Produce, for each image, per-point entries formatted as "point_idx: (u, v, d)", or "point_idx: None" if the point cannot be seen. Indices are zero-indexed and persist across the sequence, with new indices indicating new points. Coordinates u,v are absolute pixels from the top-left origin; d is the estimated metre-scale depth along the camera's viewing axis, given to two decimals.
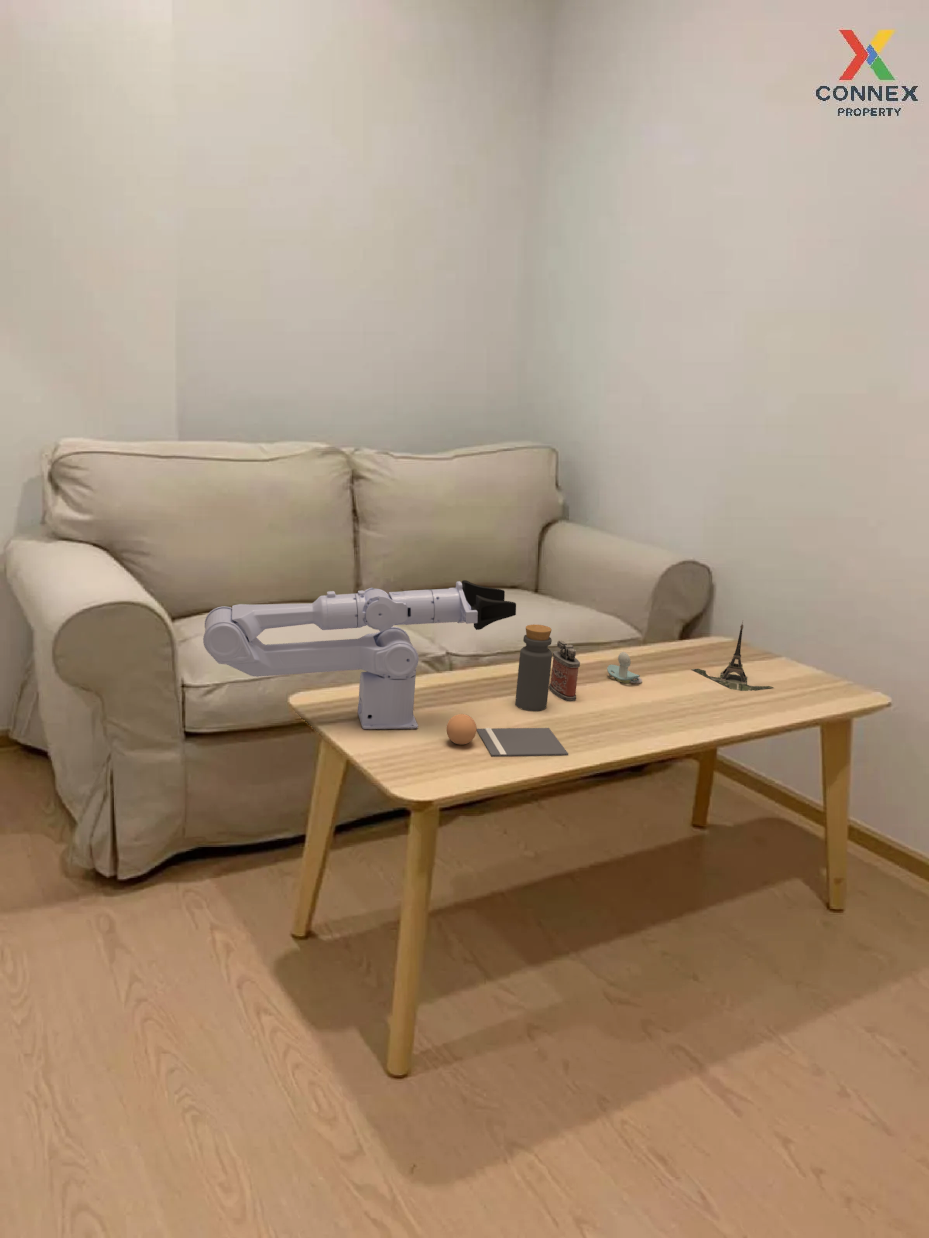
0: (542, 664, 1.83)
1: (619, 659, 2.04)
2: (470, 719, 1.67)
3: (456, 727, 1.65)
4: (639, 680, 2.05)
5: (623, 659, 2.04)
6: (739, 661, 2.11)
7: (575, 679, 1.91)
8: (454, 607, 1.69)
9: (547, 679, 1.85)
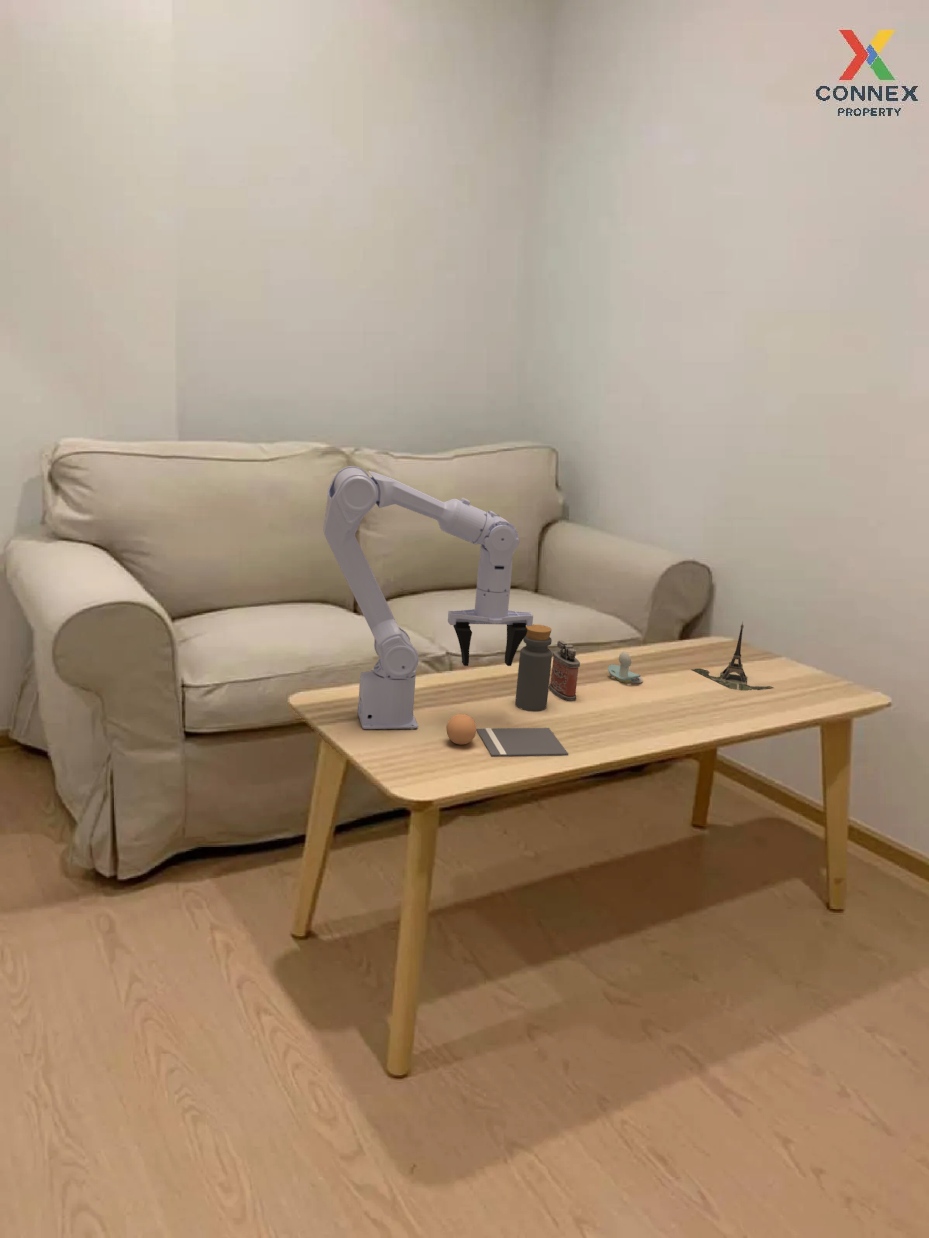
0: (542, 664, 1.83)
1: (620, 659, 2.04)
2: (470, 719, 1.67)
3: (456, 727, 1.65)
4: (640, 680, 2.05)
5: (624, 659, 2.04)
6: (739, 661, 2.11)
7: (575, 679, 1.91)
8: (476, 608, 1.72)
9: (547, 679, 1.85)
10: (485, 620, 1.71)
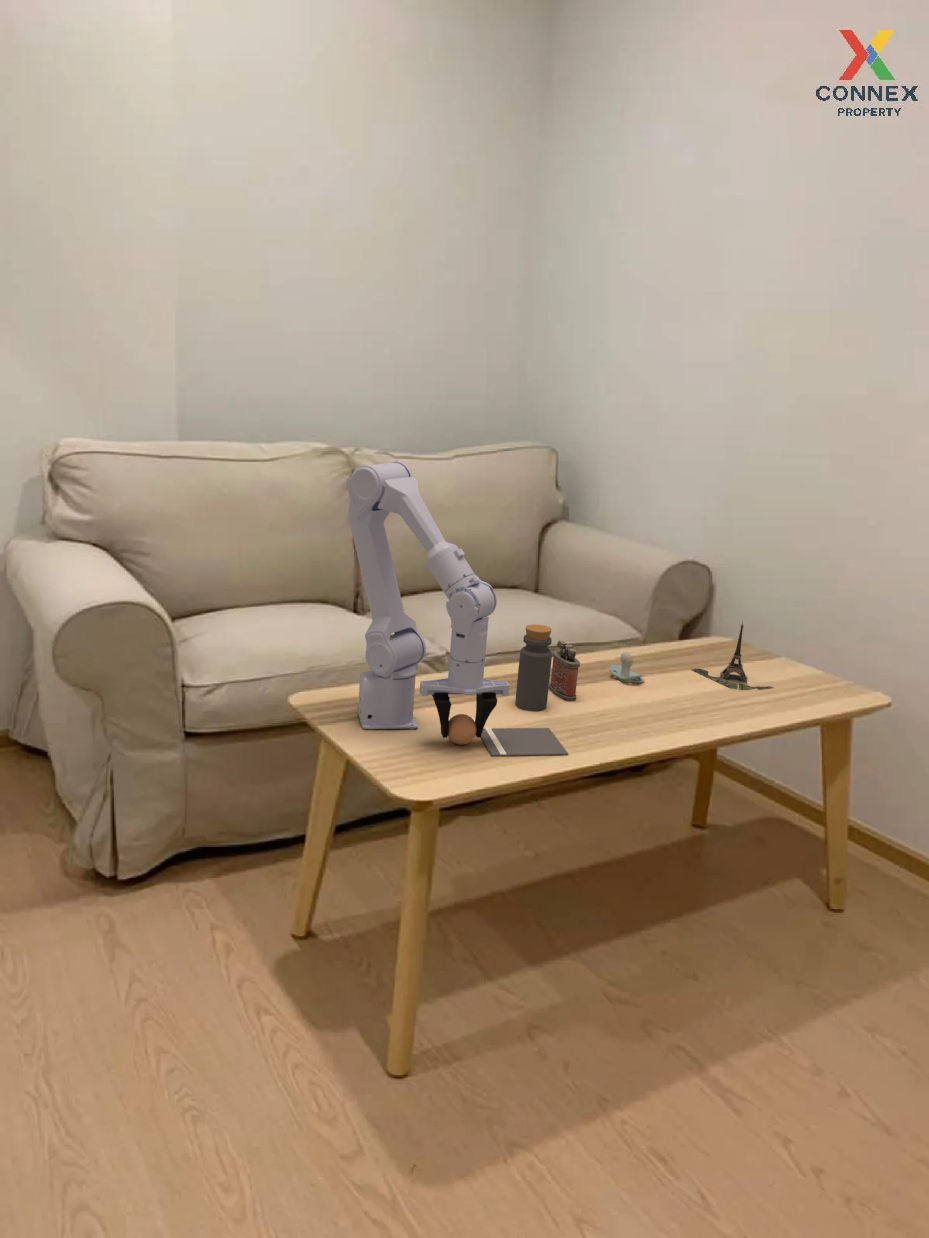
0: (542, 664, 1.83)
1: (621, 659, 2.05)
2: (470, 719, 1.67)
3: (456, 727, 1.65)
4: (641, 680, 2.05)
5: (625, 659, 2.04)
6: (739, 661, 2.11)
7: (575, 679, 1.91)
8: (449, 678, 1.64)
9: (547, 679, 1.85)
10: (458, 691, 1.63)
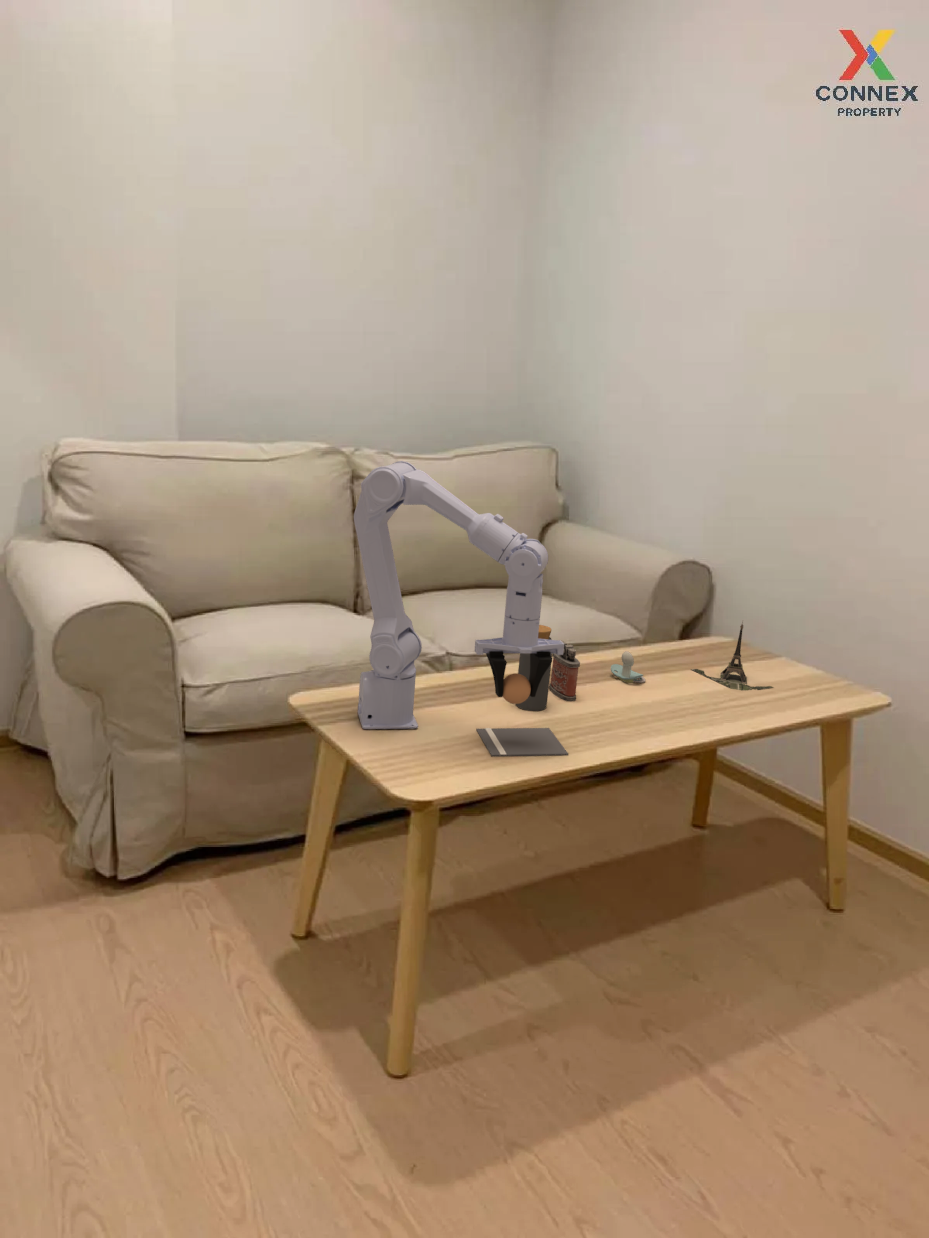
0: None
1: (622, 658, 2.05)
2: (525, 678, 1.66)
3: (511, 686, 1.65)
4: (642, 679, 2.06)
5: (626, 658, 2.04)
6: (739, 661, 2.11)
7: (575, 679, 1.91)
8: (504, 636, 1.64)
9: (547, 679, 1.85)
10: (514, 649, 1.63)
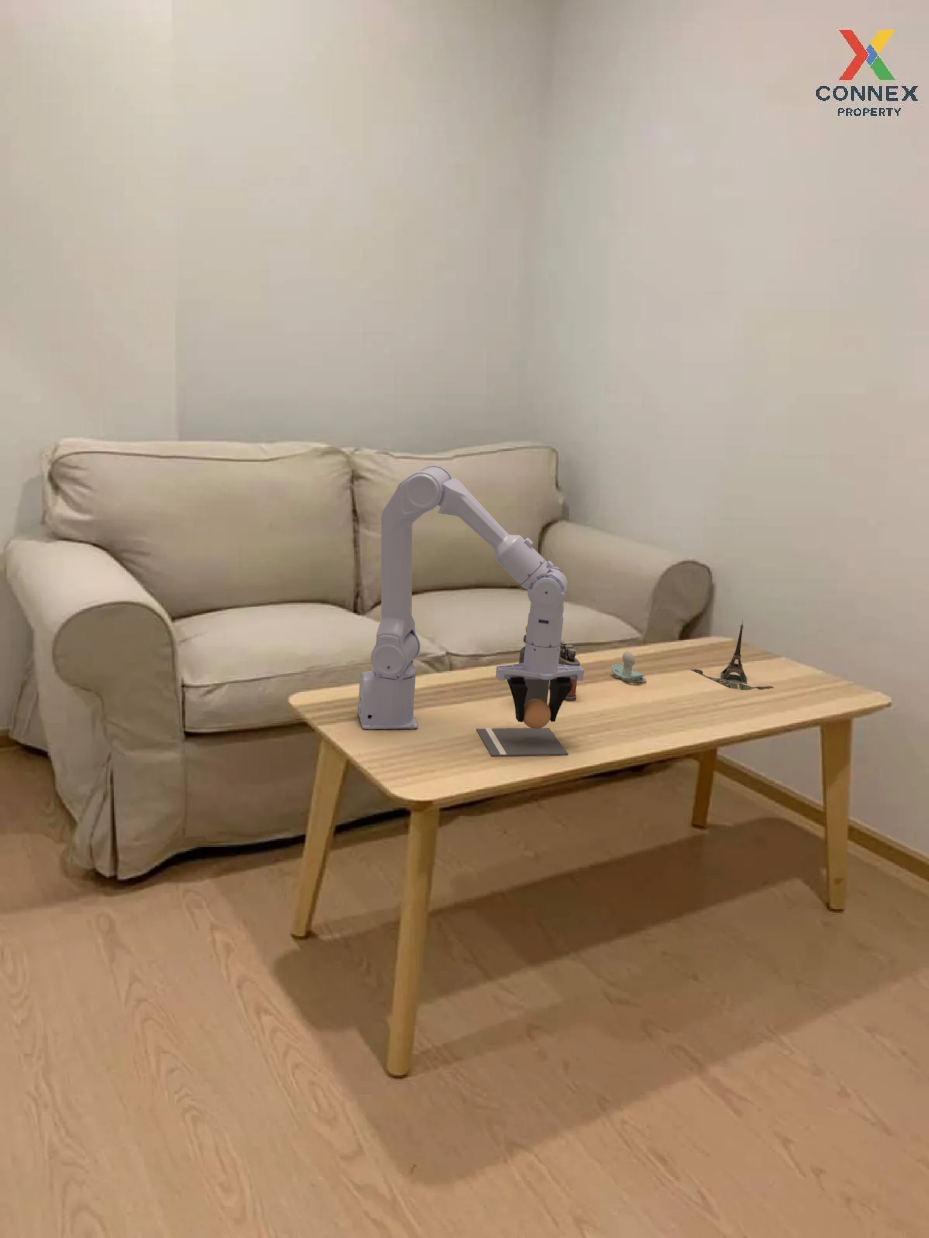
0: None
1: (623, 658, 2.05)
2: (545, 703, 1.69)
3: (532, 711, 1.67)
4: (643, 679, 2.06)
5: (627, 658, 2.04)
6: (739, 661, 2.11)
7: (575, 679, 1.91)
8: (525, 663, 1.66)
9: None
10: (535, 676, 1.65)
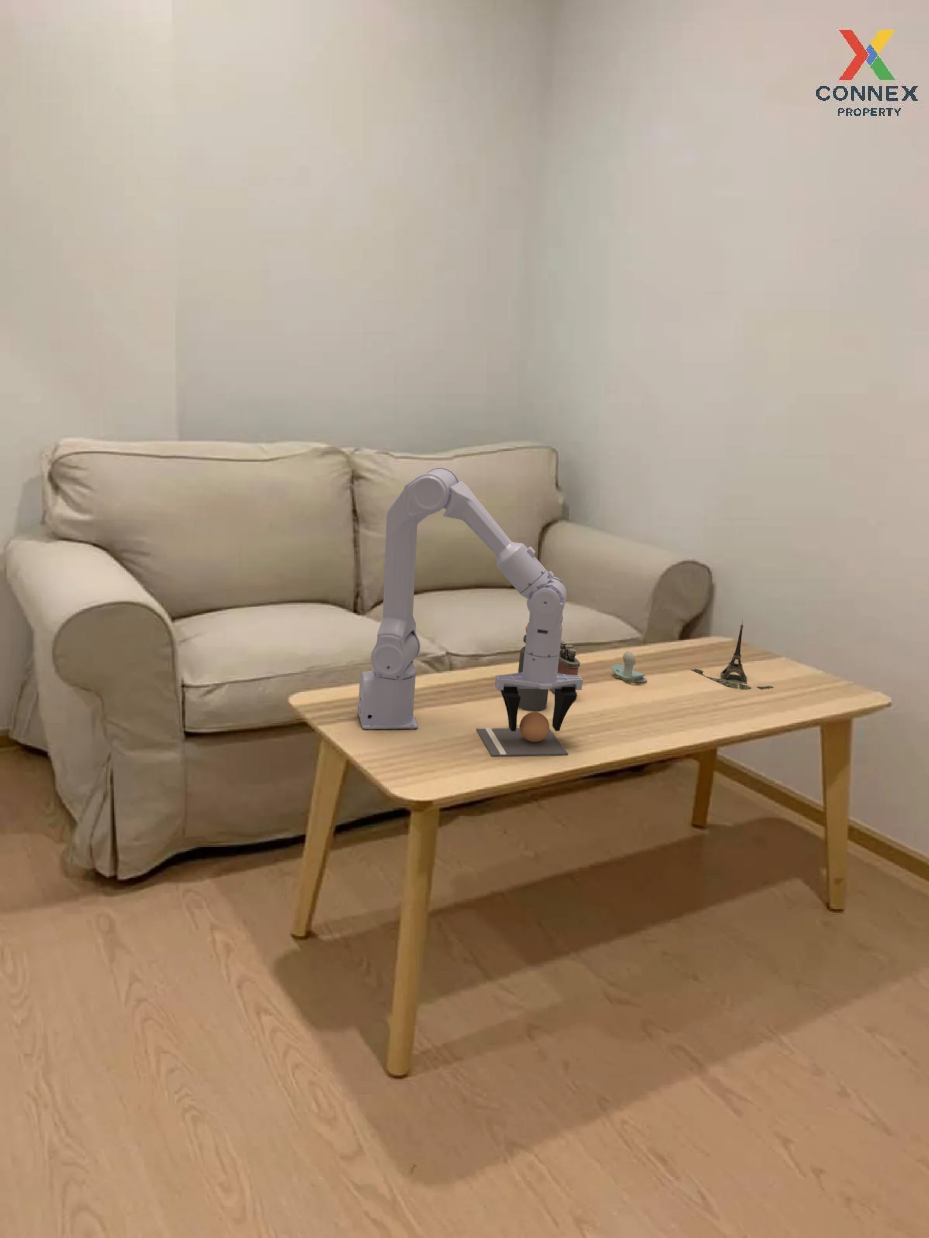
0: None
1: (624, 658, 2.05)
2: (543, 717, 1.69)
3: (530, 724, 1.68)
4: (644, 679, 2.06)
5: (628, 658, 2.04)
6: (739, 661, 2.11)
7: None
8: (524, 672, 1.67)
9: None
10: (534, 685, 1.65)
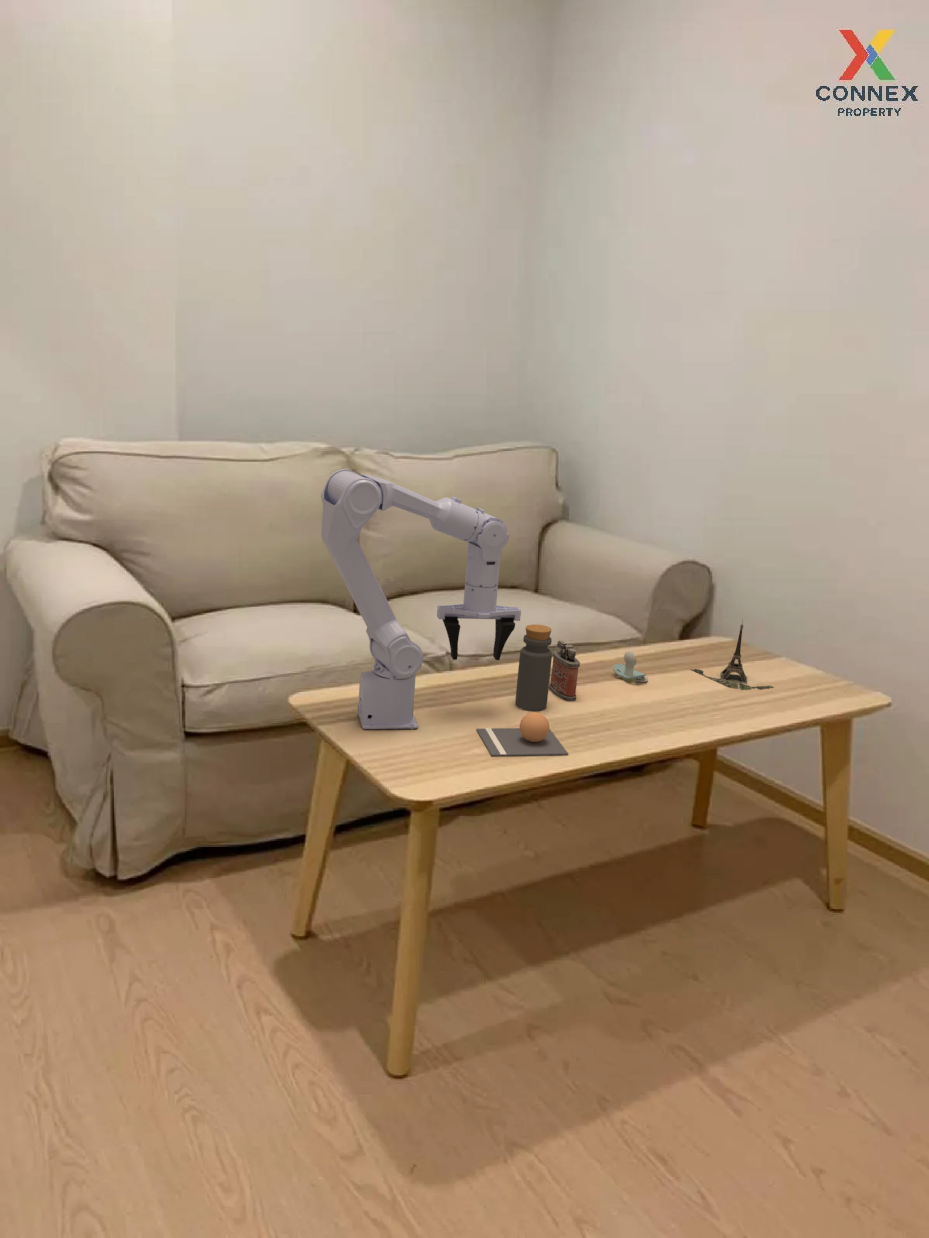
0: (542, 664, 1.83)
1: (625, 658, 2.05)
2: (543, 717, 1.69)
3: (530, 725, 1.68)
4: (645, 679, 2.06)
5: (629, 658, 2.05)
6: (739, 661, 2.11)
7: (575, 679, 1.91)
8: (464, 603, 1.75)
9: (547, 679, 1.85)
10: (473, 615, 1.74)
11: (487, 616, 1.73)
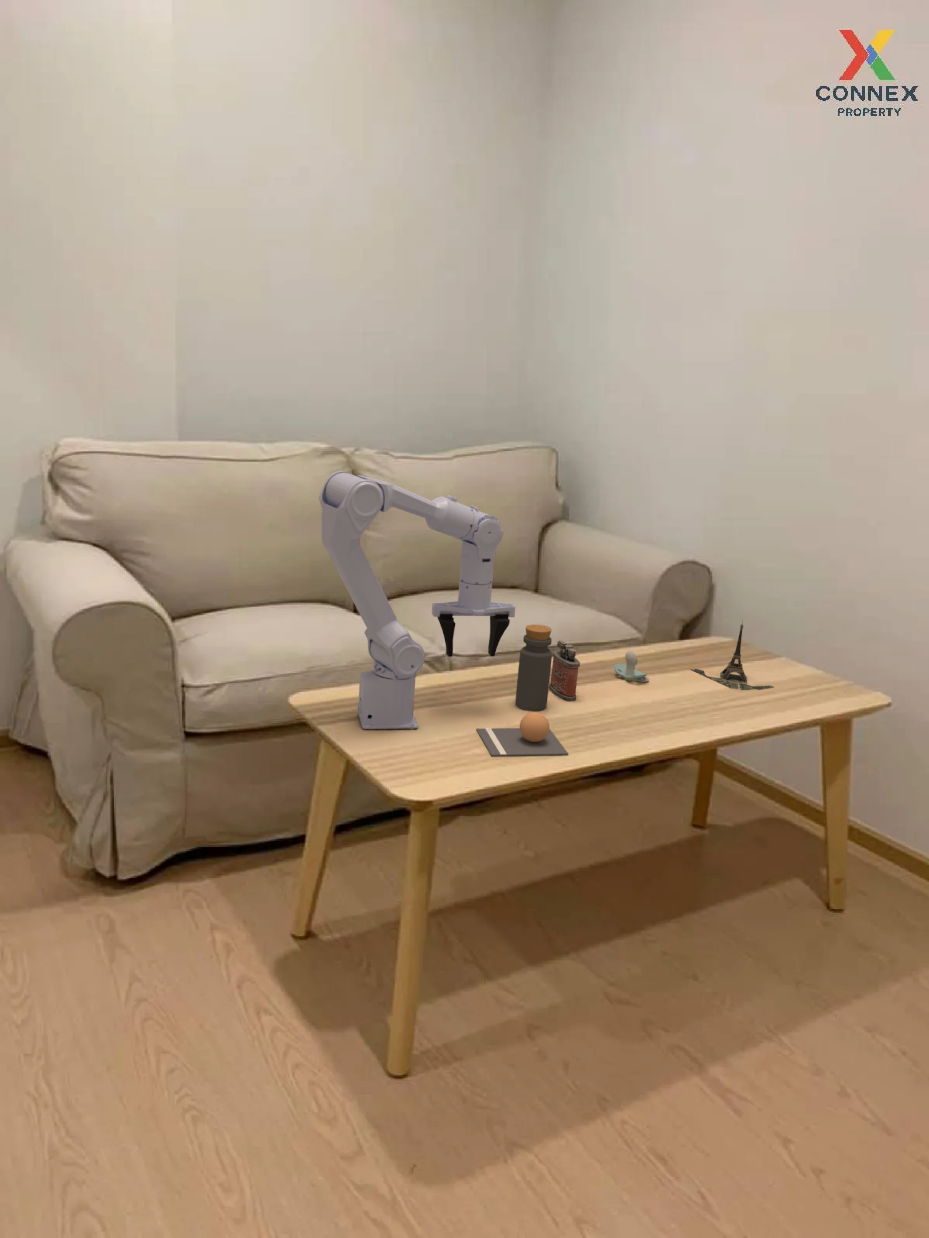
0: (542, 664, 1.83)
1: (626, 658, 2.06)
2: (543, 717, 1.69)
3: (530, 725, 1.68)
4: (646, 679, 2.06)
5: (630, 658, 2.05)
6: (739, 661, 2.11)
7: (575, 679, 1.91)
8: (459, 600, 1.76)
9: (547, 679, 1.85)
10: (468, 612, 1.75)
11: (482, 613, 1.74)
